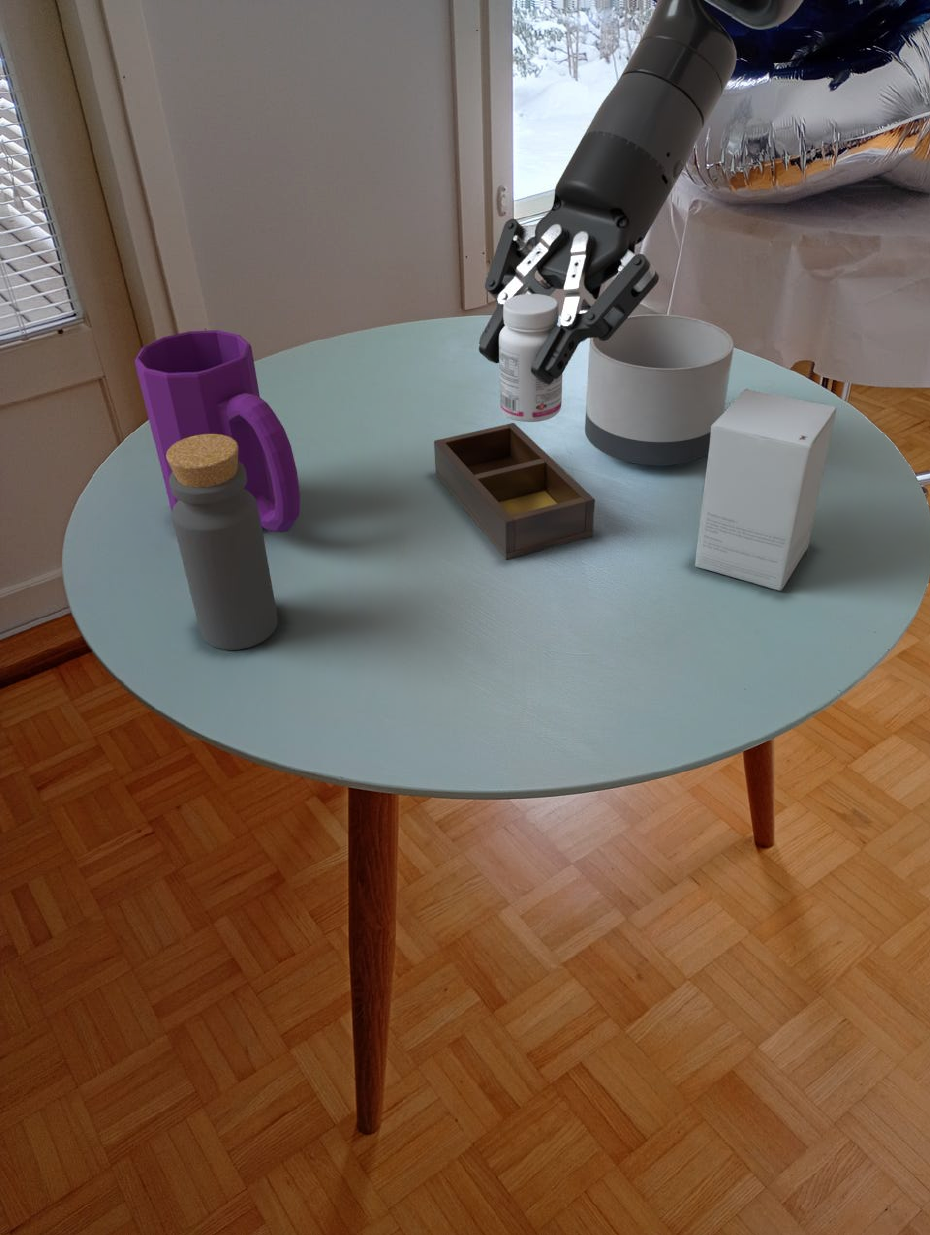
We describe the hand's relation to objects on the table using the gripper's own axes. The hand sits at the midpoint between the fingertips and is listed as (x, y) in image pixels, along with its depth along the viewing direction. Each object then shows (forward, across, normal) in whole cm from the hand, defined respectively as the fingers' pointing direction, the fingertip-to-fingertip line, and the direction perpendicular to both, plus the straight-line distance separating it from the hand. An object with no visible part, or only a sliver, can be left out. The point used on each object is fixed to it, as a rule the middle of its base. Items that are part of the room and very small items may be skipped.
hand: (513, 367), depth 73 cm
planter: (-4, -2, +26) cm, 27 cm away
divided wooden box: (+8, -4, +14) cm, 17 cm away
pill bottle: (+2, 0, +4) cm, 5 cm away
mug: (+21, -19, +1) cm, 28 cm away
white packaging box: (+3, +15, +20) cm, 25 cm away
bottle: (+27, -7, -5) cm, 28 cm away
